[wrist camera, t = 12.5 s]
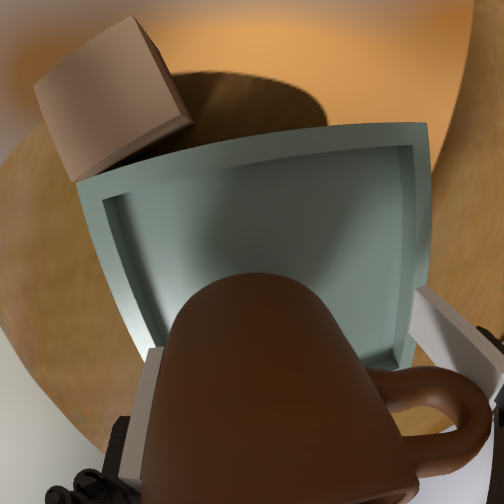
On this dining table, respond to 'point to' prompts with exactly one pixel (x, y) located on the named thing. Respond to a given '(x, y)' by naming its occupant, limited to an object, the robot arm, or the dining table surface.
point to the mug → (292, 407)
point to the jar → (493, 401)
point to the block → (110, 101)
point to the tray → (274, 227)
